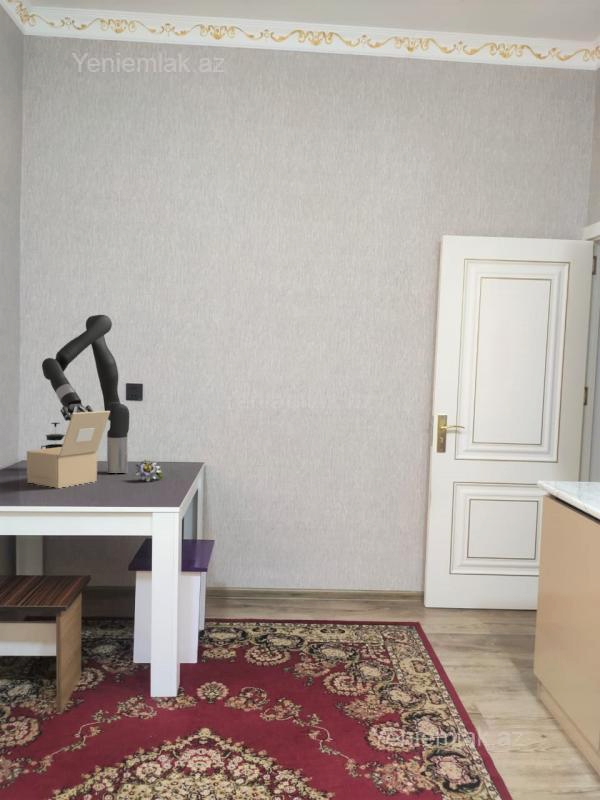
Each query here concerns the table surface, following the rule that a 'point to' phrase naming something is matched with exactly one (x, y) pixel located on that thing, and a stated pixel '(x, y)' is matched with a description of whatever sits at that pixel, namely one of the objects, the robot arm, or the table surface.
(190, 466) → the table surface
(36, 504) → the table surface
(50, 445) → the french press
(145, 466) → the passion flower
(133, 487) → the table surface
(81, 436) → the carton flap
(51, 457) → the carton
